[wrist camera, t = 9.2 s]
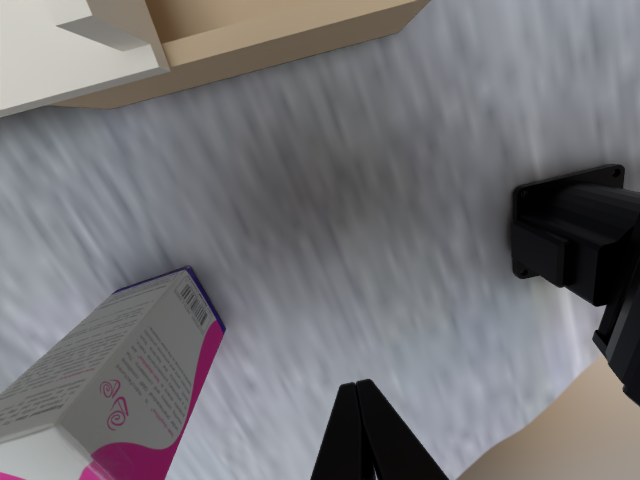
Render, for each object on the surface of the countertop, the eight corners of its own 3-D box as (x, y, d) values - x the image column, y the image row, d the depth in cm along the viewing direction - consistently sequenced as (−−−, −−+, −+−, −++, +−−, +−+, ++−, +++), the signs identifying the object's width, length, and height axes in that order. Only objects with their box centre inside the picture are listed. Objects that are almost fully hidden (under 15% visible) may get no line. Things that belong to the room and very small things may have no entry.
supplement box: (111, 291, 21) (-97, 470, 10) (190, 263, 20) (60, 421, 10) (155, 354, 23) (21, 560, 12) (228, 331, 22) (156, 523, 12)
